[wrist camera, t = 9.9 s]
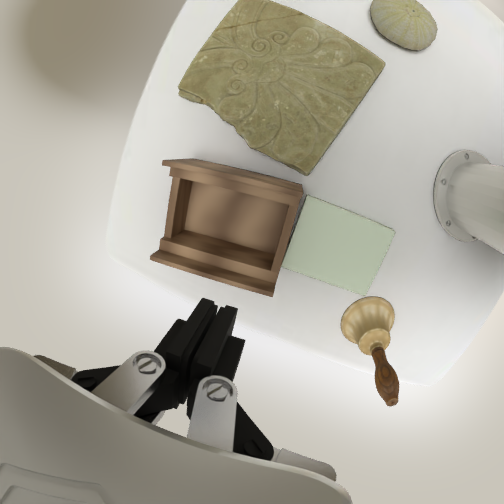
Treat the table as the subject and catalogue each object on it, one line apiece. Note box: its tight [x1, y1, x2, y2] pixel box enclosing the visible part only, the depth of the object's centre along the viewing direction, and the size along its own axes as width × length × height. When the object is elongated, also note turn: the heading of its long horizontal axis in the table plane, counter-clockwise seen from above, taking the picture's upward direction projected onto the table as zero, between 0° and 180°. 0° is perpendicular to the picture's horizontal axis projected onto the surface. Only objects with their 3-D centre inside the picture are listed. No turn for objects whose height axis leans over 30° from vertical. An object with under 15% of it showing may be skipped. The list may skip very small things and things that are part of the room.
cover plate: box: [281, 195, 395, 296], centre depth 33 cm, size 12×9×2 cm
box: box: [150, 159, 303, 297], centre depth 30 cm, size 14×11×8 cm
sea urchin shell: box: [370, 0, 438, 50], centre depth 20 cm, size 9×8×8 cm
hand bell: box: [341, 297, 399, 406], centre depth 29 cm, size 8×8×16 cm
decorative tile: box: [178, 0, 385, 176], centre depth 26 cm, size 19×20×4 cm
